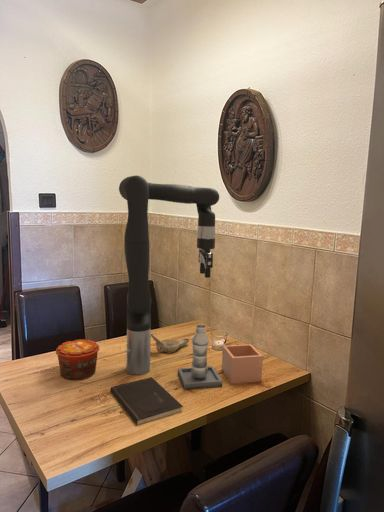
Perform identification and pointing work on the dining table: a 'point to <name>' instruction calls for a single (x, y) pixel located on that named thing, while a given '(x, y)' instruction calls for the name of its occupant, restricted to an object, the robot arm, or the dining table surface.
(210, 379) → the tray
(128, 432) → the dining table surface
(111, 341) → the dining table surface
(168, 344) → the oil lamp
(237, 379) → the pink open box
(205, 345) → the plastic bottle
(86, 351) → the food container
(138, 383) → the hardcover book
